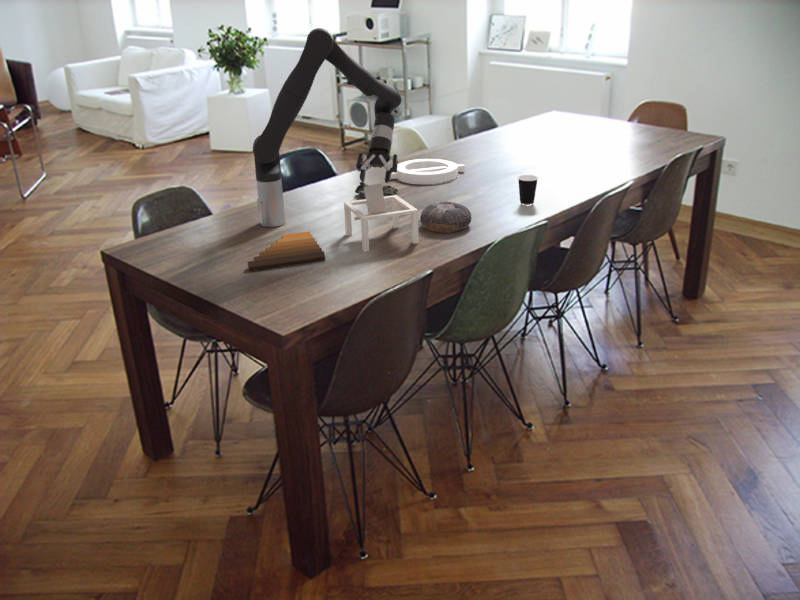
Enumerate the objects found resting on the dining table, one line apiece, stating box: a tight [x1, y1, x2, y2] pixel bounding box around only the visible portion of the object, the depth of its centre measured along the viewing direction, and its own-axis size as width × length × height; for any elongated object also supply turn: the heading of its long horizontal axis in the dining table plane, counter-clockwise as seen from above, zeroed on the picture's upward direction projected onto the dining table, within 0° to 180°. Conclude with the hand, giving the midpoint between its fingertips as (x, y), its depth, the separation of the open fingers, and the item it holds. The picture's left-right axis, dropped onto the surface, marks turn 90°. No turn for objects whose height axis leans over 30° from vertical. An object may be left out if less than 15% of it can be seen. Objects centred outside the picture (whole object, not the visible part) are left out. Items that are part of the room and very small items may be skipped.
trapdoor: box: [353, 208, 408, 221], centre depth 271 cm, size 15×15×1 cm
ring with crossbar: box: [390, 158, 466, 185], centre depth 349 cm, size 28×28×5 cm
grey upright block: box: [364, 183, 387, 215], centre depth 275 cm, size 5×5×10 cm
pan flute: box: [247, 231, 326, 271], centre depth 263 cm, size 25×3×25 cm
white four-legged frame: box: [343, 194, 419, 253], centre depth 272 cm, size 20×20×12 cm
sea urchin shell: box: [419, 200, 472, 234], centre depth 284 cm, size 19×19×10 cm
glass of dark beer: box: [517, 174, 539, 205], centre depth 305 cm, size 8×8×11 cm
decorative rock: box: [354, 181, 399, 200], centre depth 325 cm, size 19×6×15 cm
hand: (374, 181), depth 269 cm, fingers open, 8 cm apart
